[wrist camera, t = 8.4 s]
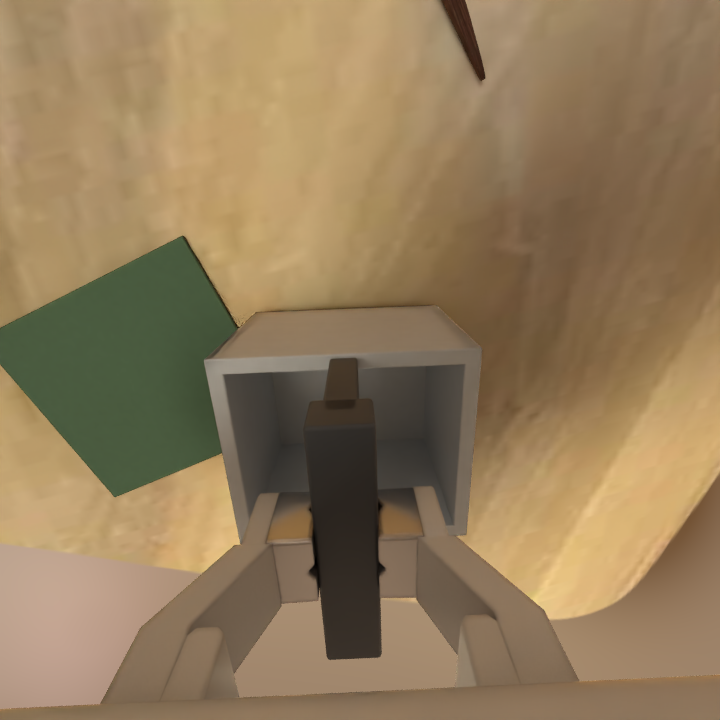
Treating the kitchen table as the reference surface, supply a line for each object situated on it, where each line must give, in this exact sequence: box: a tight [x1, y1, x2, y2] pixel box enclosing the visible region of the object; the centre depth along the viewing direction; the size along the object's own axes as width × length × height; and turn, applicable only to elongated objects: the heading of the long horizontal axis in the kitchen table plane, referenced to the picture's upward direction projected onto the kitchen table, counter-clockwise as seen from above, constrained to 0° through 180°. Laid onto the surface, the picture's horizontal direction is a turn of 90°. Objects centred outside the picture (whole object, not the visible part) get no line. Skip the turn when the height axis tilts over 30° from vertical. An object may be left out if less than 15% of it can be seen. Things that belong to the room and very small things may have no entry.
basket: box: [204, 305, 482, 660], centre depth 13 cm, size 8×7×10 cm
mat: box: [0, 236, 238, 497], centre depth 18 cm, size 11×10×1 cm
